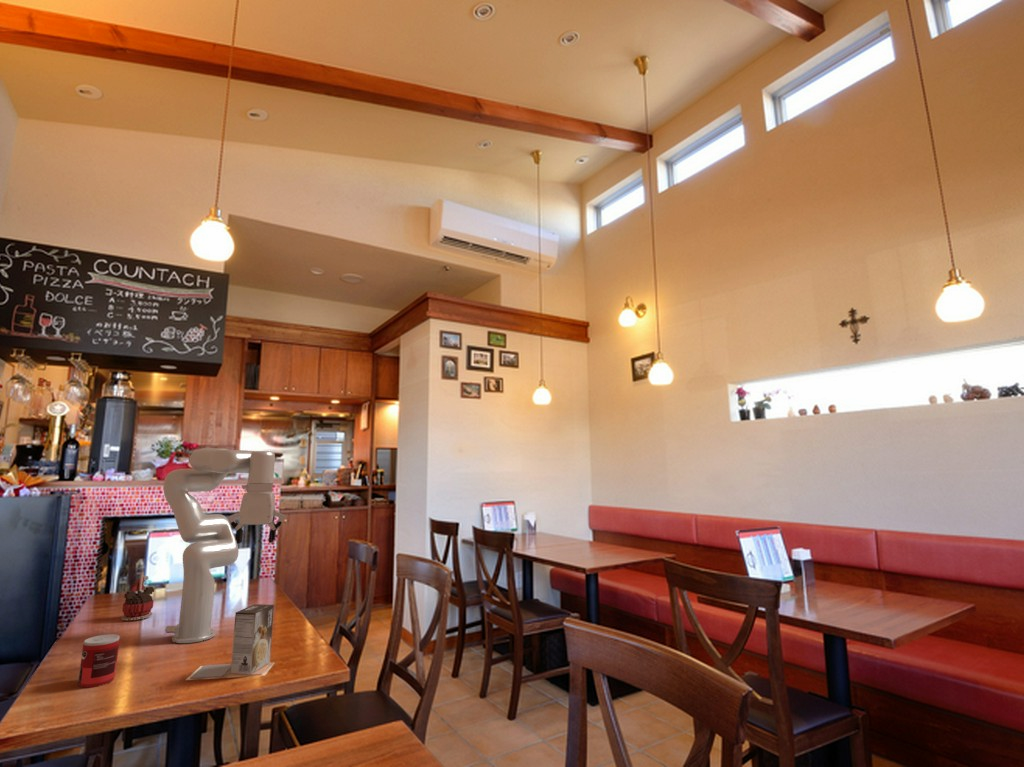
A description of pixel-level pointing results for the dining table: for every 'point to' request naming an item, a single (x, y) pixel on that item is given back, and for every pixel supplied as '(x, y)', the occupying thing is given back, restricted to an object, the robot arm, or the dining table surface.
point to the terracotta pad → (258, 672)
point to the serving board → (231, 673)
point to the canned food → (98, 660)
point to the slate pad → (212, 671)
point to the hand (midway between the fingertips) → (255, 542)
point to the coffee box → (252, 639)
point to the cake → (138, 600)
